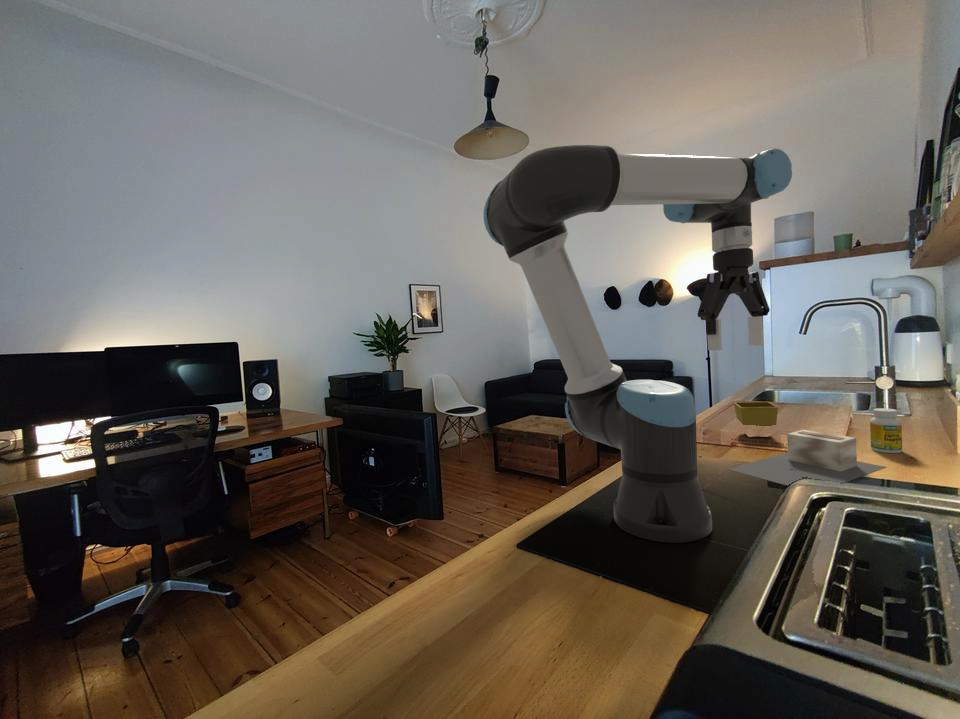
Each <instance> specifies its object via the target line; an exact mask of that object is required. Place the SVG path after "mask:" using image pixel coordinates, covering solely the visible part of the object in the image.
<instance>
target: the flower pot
mask: <svg viewBox="0 0 960 719" xmlns="http://www.w3.org/2000/svg"><path fill="white" fill-rule="evenodd" d="M733 406H734V410H735V417H736V420H737V419H738V420H739V421H740V422H741V423H742V424H743V425H756V426H758V425H759V426H772V425H776V426H777V420H778V410H779V407H778V405H777V404H773V403H772V402H770V401H735V402H733Z"/></svg>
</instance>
